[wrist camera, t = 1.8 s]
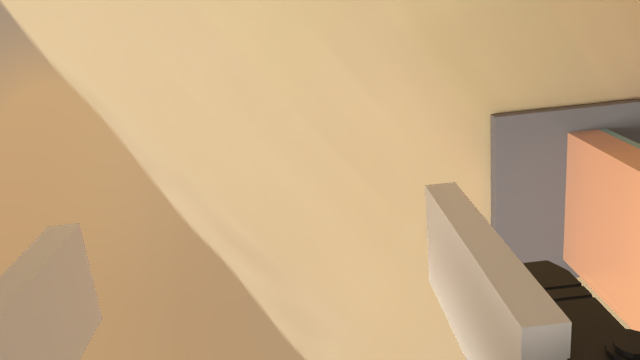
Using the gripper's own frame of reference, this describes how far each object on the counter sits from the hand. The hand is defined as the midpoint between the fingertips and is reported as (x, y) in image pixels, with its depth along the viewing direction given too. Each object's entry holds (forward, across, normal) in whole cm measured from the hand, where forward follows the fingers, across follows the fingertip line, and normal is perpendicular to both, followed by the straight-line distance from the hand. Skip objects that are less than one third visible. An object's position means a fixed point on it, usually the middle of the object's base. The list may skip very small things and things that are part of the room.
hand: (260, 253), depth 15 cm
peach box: (+23, +20, -9) cm, 31 cm away
